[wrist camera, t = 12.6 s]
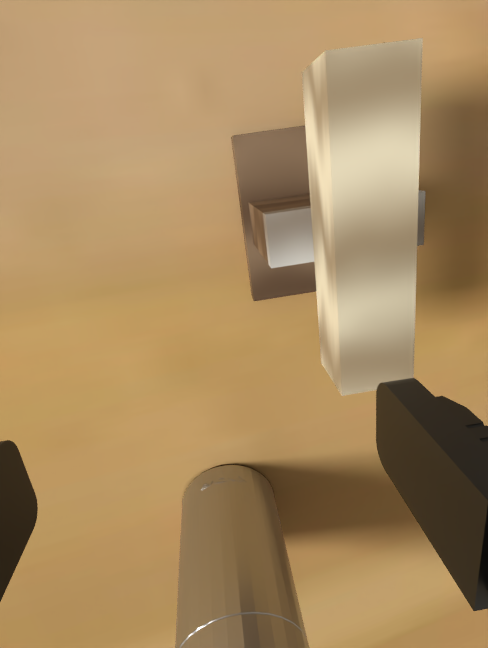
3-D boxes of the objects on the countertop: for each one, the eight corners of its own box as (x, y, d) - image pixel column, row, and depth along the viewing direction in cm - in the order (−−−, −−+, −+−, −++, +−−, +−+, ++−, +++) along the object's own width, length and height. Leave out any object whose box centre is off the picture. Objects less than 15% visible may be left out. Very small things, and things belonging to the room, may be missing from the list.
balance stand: (369, 277, 34) (428, 315, 26) (251, 295, 34) (270, 341, 25) (366, 118, 30) (437, 98, 21) (231, 136, 29) (245, 124, 21)
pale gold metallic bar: (301, 71, 20) (325, 50, 16) (381, 61, 20) (422, 38, 16) (321, 362, 26) (341, 395, 22) (382, 352, 26) (413, 383, 22)
